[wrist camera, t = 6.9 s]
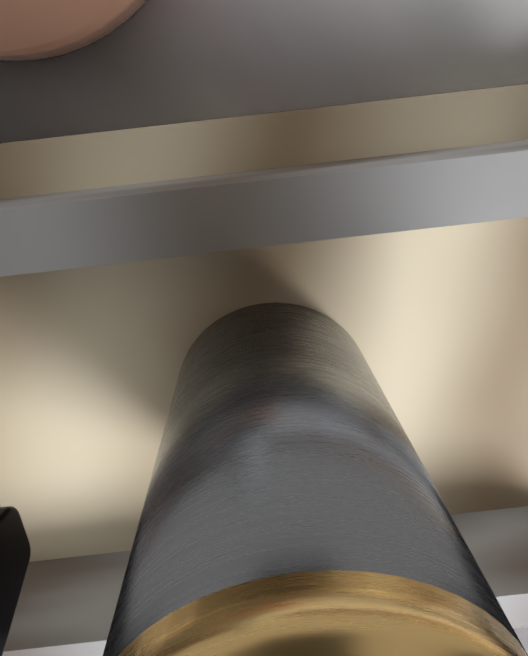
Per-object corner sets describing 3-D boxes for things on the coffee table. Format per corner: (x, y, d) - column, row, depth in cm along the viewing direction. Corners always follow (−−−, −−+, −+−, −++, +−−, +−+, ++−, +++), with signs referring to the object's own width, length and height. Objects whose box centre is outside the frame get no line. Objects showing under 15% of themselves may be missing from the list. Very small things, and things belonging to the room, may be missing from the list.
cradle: (574, 80, 11) (732, 53, 7) (528, 530, 15) (614, 648, 11) (-87, 155, 11) (-245, 163, 7) (56, 582, 15) (-1, 717, 11)
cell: (365, 291, 11) (658, 659, 3) (371, 462, 12) (578, 986, 5) (161, 314, 11) (-33, 737, 3) (193, 482, 12) (113, 1039, 5)
